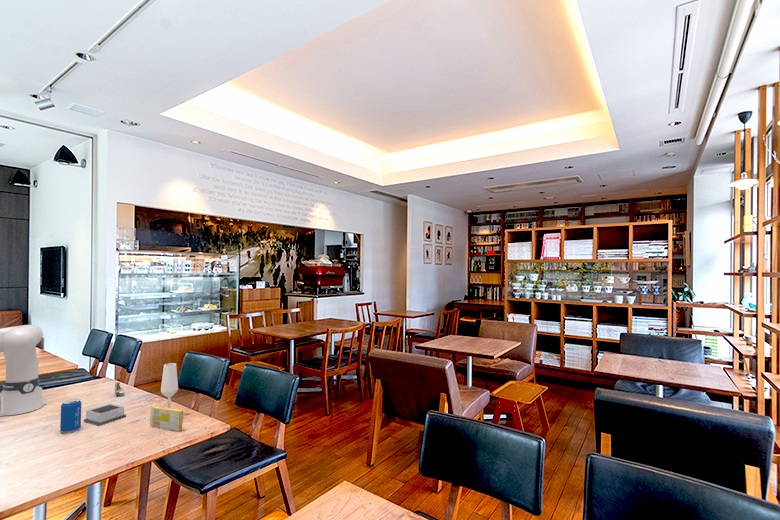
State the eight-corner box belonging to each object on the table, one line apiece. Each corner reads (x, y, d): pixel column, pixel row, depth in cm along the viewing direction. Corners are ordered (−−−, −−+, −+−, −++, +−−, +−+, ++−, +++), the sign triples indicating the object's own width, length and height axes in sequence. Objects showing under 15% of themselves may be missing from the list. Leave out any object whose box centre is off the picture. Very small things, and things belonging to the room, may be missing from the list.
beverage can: (68, 434, 153) (69, 404, 153) (55, 433, 154) (56, 403, 155) (84, 428, 159) (85, 398, 160) (72, 426, 161) (72, 397, 161)
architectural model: (122, 394, 204) (122, 380, 205) (124, 397, 199) (124, 382, 199) (114, 395, 202) (114, 381, 202) (116, 398, 197) (116, 384, 197)
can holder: (83, 421, 166) (83, 411, 166) (110, 413, 176) (111, 403, 176) (98, 426, 162) (99, 415, 162) (125, 417, 172) (126, 406, 172)
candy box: (183, 430, 158) (183, 410, 158) (178, 432, 156) (179, 411, 156) (153, 424, 163) (154, 405, 164) (149, 426, 161) (149, 407, 162)
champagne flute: (161, 423, 165) (163, 367, 165) (158, 418, 170) (159, 364, 170) (179, 419, 169) (180, 364, 170) (175, 415, 174) (176, 361, 175)
